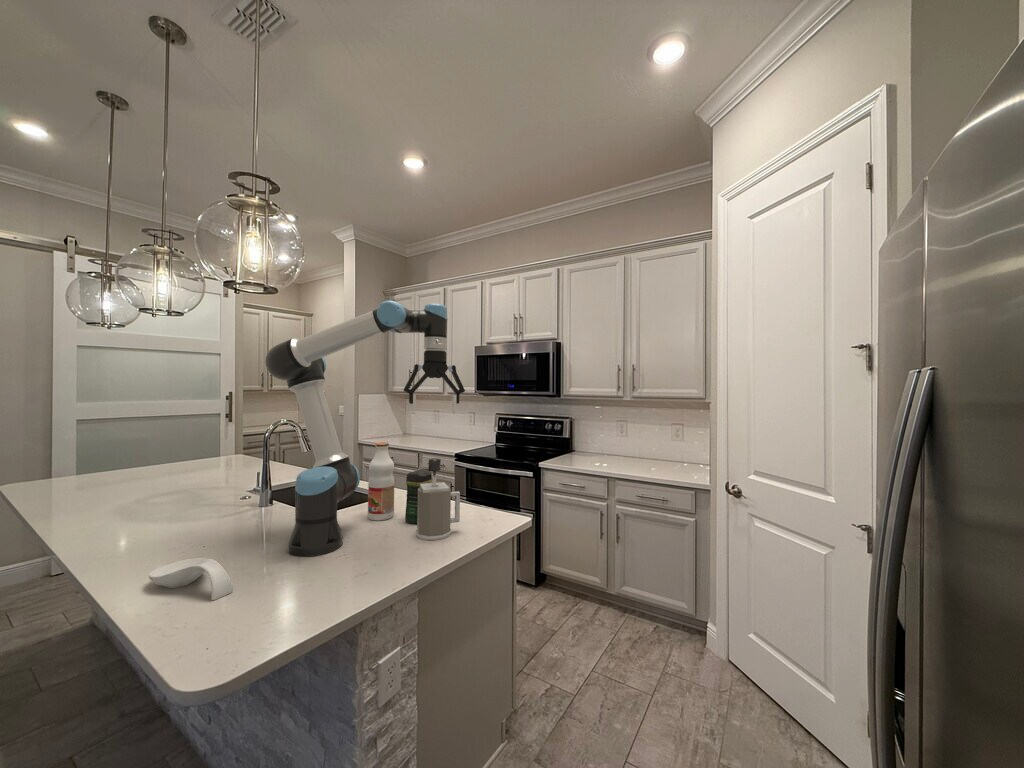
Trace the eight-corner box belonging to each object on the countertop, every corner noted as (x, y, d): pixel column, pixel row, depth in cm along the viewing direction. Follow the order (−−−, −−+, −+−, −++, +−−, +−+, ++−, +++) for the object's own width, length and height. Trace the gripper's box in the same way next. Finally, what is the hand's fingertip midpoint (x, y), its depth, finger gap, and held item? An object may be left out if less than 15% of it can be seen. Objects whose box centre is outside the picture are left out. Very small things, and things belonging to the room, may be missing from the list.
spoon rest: (137, 587, 102) (138, 558, 102) (190, 568, 113) (191, 541, 113) (197, 609, 93) (197, 577, 93) (249, 586, 103) (249, 557, 103)
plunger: (423, 523, 135) (424, 461, 136) (420, 516, 143) (421, 457, 143) (447, 521, 138) (448, 460, 138) (443, 514, 145) (443, 456, 145)
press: (418, 542, 133) (418, 491, 133) (414, 530, 144) (414, 483, 144) (462, 537, 138) (463, 488, 138) (455, 525, 149) (455, 480, 149)
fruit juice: (394, 519, 155) (395, 444, 155) (367, 522, 152) (368, 445, 152) (393, 512, 164) (394, 440, 164) (367, 514, 160) (368, 441, 161)
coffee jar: (420, 525, 148) (420, 473, 148) (401, 522, 151) (402, 471, 151) (434, 517, 157) (435, 468, 157) (417, 515, 160) (417, 466, 160)
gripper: (397, 348, 133) (396, 414, 133) (474, 351, 141) (473, 414, 141) (396, 349, 140) (395, 413, 140) (468, 352, 148) (467, 412, 148)
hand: (434, 413), depth 140 cm, fingers open, 13 cm apart
